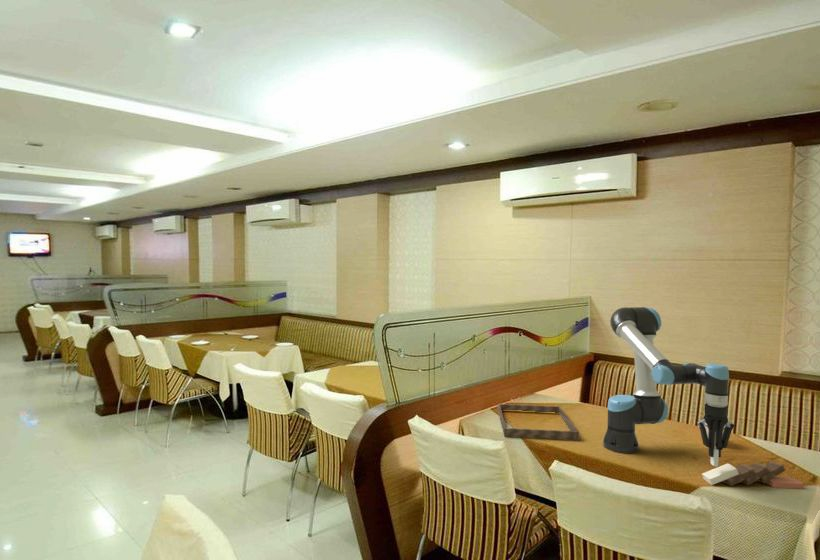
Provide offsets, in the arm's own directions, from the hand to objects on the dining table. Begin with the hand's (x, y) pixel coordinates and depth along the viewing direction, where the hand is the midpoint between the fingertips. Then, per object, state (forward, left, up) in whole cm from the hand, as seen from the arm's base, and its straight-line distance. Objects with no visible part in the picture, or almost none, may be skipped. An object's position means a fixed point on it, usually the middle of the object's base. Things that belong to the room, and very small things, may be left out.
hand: (714, 464), depth 182 cm
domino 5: (+21, +2, -6) cm, 22 cm away
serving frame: (-59, +60, -7) cm, 84 cm away
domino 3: (+10, +1, -6) cm, 12 cm away
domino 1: (-3, 0, -6) cm, 6 cm away
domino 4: (+17, +2, -5) cm, 18 cm away
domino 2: (+4, 0, -6) cm, 7 cm away
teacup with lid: (+24, +46, -7) cm, 52 cm away
